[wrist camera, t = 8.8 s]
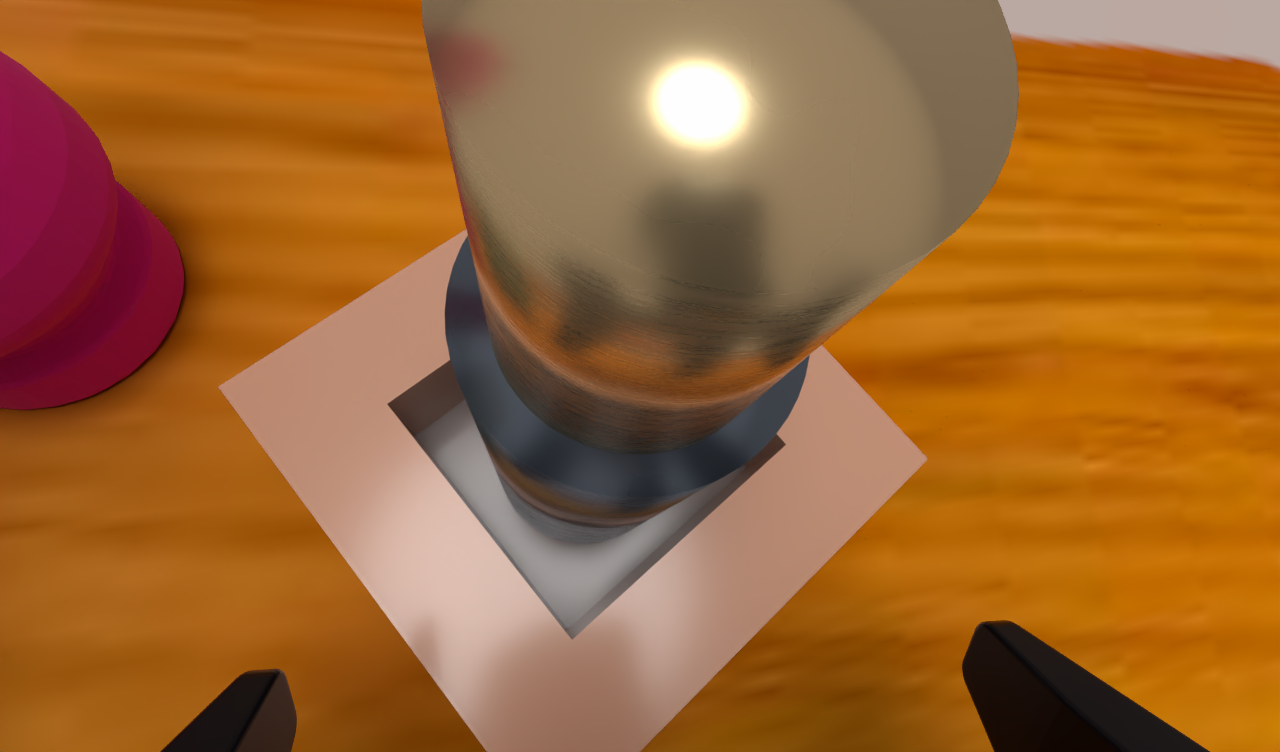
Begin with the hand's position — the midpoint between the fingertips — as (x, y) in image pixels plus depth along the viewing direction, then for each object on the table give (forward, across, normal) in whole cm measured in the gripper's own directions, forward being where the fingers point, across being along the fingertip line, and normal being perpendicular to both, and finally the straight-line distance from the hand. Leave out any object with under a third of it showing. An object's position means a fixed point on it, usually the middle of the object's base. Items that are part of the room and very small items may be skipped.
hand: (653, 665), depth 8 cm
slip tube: (+9, 0, +2) cm, 9 cm away
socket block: (+9, 0, +3) cm, 9 cm away
